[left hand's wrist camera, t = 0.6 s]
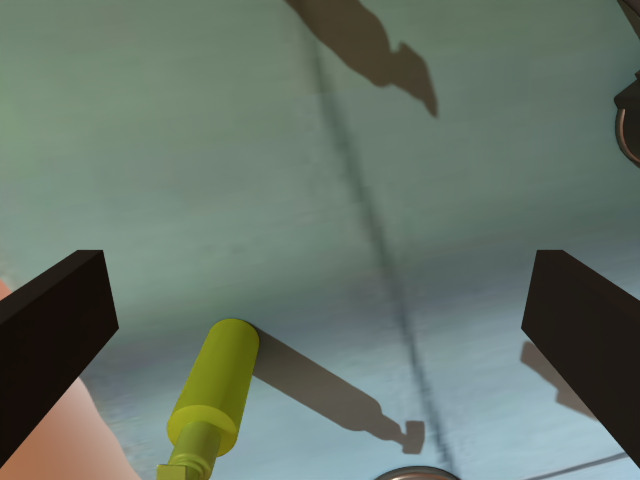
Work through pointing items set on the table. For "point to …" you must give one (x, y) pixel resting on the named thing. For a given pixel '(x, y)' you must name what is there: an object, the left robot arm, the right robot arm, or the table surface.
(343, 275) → the table surface
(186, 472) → the soap dispenser
